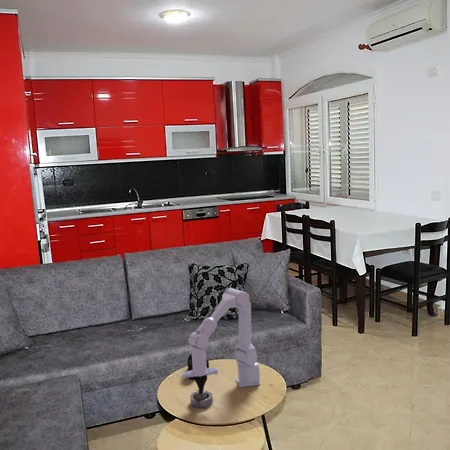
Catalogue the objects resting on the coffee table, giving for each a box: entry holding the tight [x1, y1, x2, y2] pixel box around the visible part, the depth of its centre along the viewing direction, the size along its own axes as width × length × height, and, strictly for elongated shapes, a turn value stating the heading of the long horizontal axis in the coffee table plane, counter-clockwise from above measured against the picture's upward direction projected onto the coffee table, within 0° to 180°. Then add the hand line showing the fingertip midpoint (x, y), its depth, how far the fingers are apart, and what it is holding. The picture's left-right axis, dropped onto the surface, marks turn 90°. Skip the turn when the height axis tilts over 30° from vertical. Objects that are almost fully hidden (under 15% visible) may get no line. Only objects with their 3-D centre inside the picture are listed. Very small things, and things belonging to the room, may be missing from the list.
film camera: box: [186, 353, 210, 381], centre depth 220 cm, size 15×10×9 cm, turn 178°
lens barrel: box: [190, 390, 214, 410], centre depth 193 cm, size 9×9×3 cm
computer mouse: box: [194, 389, 208, 400], centre depth 193 cm, size 5×5×4 cm
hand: (201, 392), depth 193 cm, fingers closed
